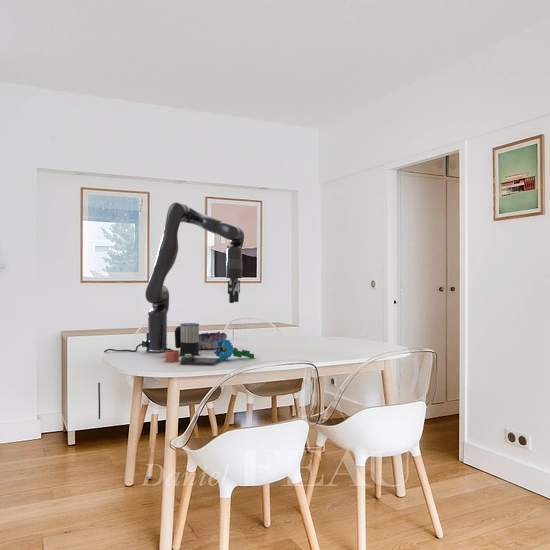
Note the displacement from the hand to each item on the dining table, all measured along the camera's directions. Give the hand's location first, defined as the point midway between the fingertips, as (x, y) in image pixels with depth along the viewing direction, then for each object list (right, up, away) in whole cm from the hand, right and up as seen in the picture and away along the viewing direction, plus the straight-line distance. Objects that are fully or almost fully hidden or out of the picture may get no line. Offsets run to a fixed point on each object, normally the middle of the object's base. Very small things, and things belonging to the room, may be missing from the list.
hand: (233, 302), depth 253 cm
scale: (-13, -25, -21) cm, 35 cm away
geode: (-16, -25, +25) cm, 39 cm away
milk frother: (-25, -25, 0) cm, 36 cm away
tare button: (-18, -22, -24) cm, 37 cm away
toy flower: (+2, -25, -11) cm, 28 cm away
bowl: (-26, -25, -17) cm, 40 cm away
